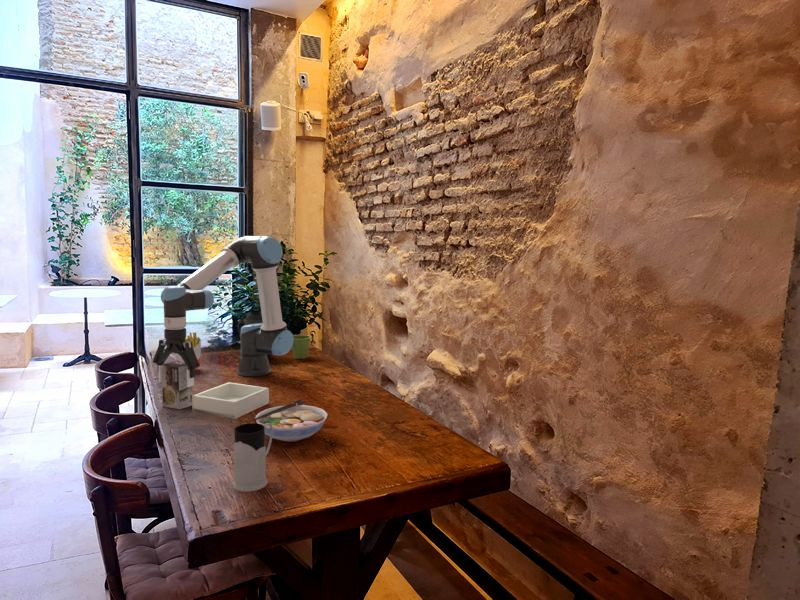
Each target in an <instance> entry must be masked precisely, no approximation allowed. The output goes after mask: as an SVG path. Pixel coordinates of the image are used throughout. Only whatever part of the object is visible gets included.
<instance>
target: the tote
mask: <svg viewBox="0 0 800 600" xmlns="http://www.w3.org/2000/svg"><path fill="white" fill-rule="evenodd" d="M269 391H270V388H269V387H265V386H264V387H263V386H258V385H250V384H243V383H238V382H237V383H235V382H229V381H228V382H225V383H223V384H221V385H217V386H215V387H212V388H209V389H207V390H204V391H200V392H198V393H196V394H192V406H191V407H192V413H200V414H204V415H212V416H216V417H217V416H218V417H222V418H228V419H233V420H235V419H238V418H240V417H242V416H244V415H246V414H249V413H251V412H253V411H255V410H257V409H259V408H261V407H263V406H265V405H268V404H270V392H269Z"/></svg>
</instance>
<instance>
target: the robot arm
mask: <svg viewBox="0 0 800 600" xmlns="http://www.w3.org/2000/svg"><path fill="white" fill-rule="evenodd" d="M283 255H284V254H283V247H282V244H281V243H280V241H279V240H278V239H277V238H275V237H273V236H267V235H244V236H241V237H239V238H237V239H235V240H233V241H232V242H230V243H229V244H227V245H226V246H224V247H223V248H221V249H220V253H219V254H217V255H216V256H215V257H213V258H212V259H211V260H209V261H208V262H206V263H205V264H204V265H203V266H201V267H199V268H198V269H197V270H196V271H194V272H192V273H191V274H190V275H189V276H187V277H186V278H185V279H183V280H182V281H181V282H179V283H178V284H176V285H170V286H165V287H164V289H163V290H162V291H161V293H160V301H161V302H162V304H163V326H164V330H163V333H164V335H163V336H164V338H162V339H158V340H159V341H158V346H157V350H156V351H155V353H154V356H153V359H152V362H153V363H152V364H156V366H157V373H158V383H160V384H162V374H161V365H163V364H166V363H165V362H166V361H167V360H168V358H169V357H170V356H169V355H172V354H173V353H174V354H176V353H178V354H179V355H180V356H181V357H182V359H183V360H184V362H185V364H186V365H187V367H188V369H187V387H191V386H192V387H194V386H195V377H196V370H195V368H197V367H199V368H200V367H201V366H200V365H199V362H198V360H197V357H196V355H195V352H194V350H193V345H192V342H187V343H186V342H185V338H186V339H187V328H186V327H187V312H188V311H189V312H190V311H198V310H205V309H207V310H208V309H211V308H212V307H213V305H214V303H215V297H214V294H213V293H212V291H211V290H209V289H205V288H207V287H208V286H209V285H210V284H212V283H213V282H214V281H215V280H217V279H218V278H219V277H220V276H223V275H224V274H225V273H226V272H227V271H229V270H230V269H231V268H236V267H238V266H239V265H241V264H245V263H250V266H251V267H250V268H251V269H252V270H253V271H254V272H255V276H256V284H257V291H258V298H259V303H260V313H261V314H262V319H263V323H261V324H251V325H245V324H244V326H243V327H242V328H241V334H239V336H240V352H241V355H240V359H239V363H238V365H237V370H236V371H237V375H239V376H241V377H260V376H266V375H269V374H271V369H272V368H271V365H270V361H269V360H268V359H267V353H268V354H272V356H285V355H286V354H288V353H289V352H290V351H291V350H292V345H293V340H294V338H293V336H294V334H293V333H292V332H291V331H290V330H288V327H287V323H286V322H285V321H284V320H283V315H282V308H281V301H280V293H279V283H278V277H277V271H276V270H277V268H278V267H279V262H281V259H282V257H283ZM195 364H196V365H195ZM197 369H198V368H197Z"/></svg>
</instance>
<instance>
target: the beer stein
mask: <svg viewBox="0 0 800 600" xmlns="http://www.w3.org/2000/svg"><path fill="white" fill-rule="evenodd" d="M241 317H242V318H240V319H239V320H238V323H237V330H238V333H239V335H240V334H241V328H242V327H243V326H245V325H251V324H261V323H263V319H262V312H261V311H259V310H250V311H249V312H248V313H247V312H246V313H243V314H242V316H241ZM239 355H240V356H241V351H240V352H239ZM272 356H273V354H268V353H267V359H268V361H269V360H271V359H272V358H273V357H272Z"/></svg>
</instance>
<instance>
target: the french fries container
mask: <svg viewBox="0 0 800 600" xmlns="http://www.w3.org/2000/svg"><path fill="white" fill-rule="evenodd" d="M185 342H186V343H187V342H192V345H193V350H194V352H195V355H196V357H197V360H198V362H199V365H200V367H201V365H202V351H201V350H202V348H201V347H202V346H201V345H202V343H201V342H202V341H201V338H200V336H197V332H196V331H195V332H194V331H193V332H189V335H187V336H186V338H185ZM175 358H176V360H175V361H177V362H182V363H185V362H184V360H183V359H182V357H181V356H180V355H179V354H178V353H175ZM195 365H196V364H195ZM200 367H197V368H195V371H197V370H198V369H199V368H200Z"/></svg>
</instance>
